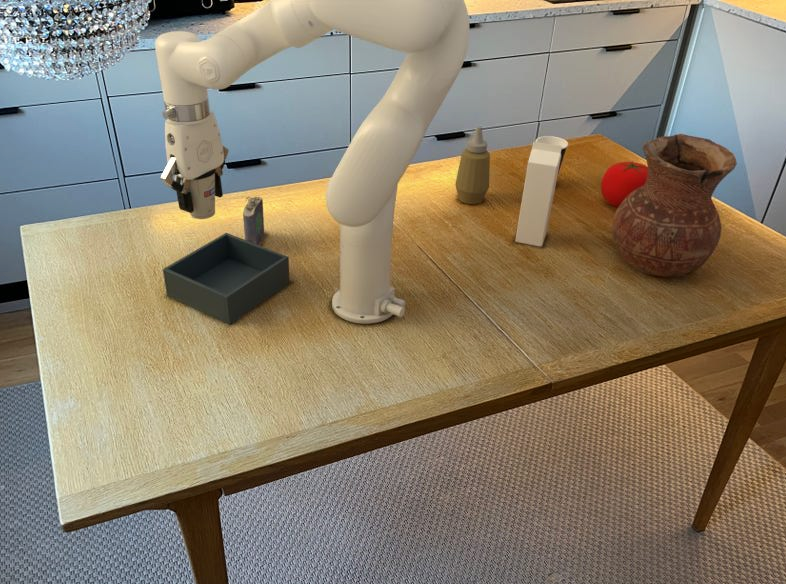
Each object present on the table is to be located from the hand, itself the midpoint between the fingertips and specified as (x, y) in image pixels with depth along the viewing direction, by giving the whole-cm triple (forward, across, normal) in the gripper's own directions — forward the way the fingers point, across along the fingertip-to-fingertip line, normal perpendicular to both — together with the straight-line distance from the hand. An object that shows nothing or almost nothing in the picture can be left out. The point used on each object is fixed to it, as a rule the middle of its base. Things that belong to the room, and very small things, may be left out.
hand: (201, 202), depth 143 cm
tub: (+17, -1, -5) cm, 18 cm away
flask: (+17, +16, +3) cm, 24 cm away
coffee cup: (+3, 0, 0) cm, 3 cm away
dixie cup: (+19, +83, -35) cm, 92 cm away
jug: (+19, +62, -70) cm, 96 cm away
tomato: (+19, +84, -55) cm, 102 cm away
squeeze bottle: (+18, +64, -24) cm, 70 cm away
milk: (+19, +55, -44) cm, 73 cm away
